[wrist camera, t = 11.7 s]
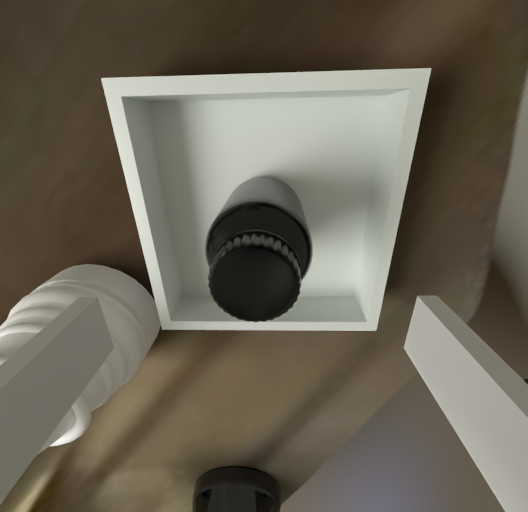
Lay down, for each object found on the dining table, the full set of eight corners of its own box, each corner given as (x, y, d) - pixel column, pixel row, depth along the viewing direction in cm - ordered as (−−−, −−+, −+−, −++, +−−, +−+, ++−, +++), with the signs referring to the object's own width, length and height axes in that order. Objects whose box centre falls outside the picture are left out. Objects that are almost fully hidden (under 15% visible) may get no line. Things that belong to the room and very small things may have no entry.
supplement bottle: (232, 166, 22) (195, 204, 12) (311, 185, 23) (345, 237, 12) (220, 240, 25) (181, 324, 15) (290, 255, 26) (302, 347, 15)
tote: (360, 298, 29) (376, 330, 24) (178, 298, 30) (161, 329, 25) (396, 81, 20) (431, 68, 16) (138, 88, 21) (101, 78, 16)
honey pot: (164, 278, 29) (24, 475, 12) (157, 362, 34) (53, 573, 18) (41, 251, 28) (-285, 427, 11) (54, 342, 33) (-154, 546, 17)
